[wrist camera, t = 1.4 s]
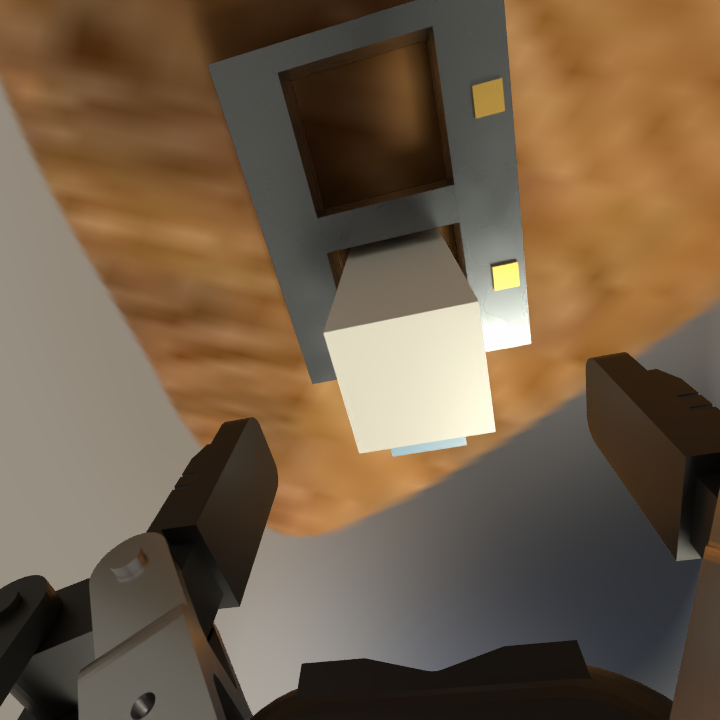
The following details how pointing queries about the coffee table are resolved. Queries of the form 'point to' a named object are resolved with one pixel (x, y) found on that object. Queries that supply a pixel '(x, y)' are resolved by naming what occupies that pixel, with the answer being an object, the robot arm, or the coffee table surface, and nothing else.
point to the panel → (397, 209)
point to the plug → (409, 347)
